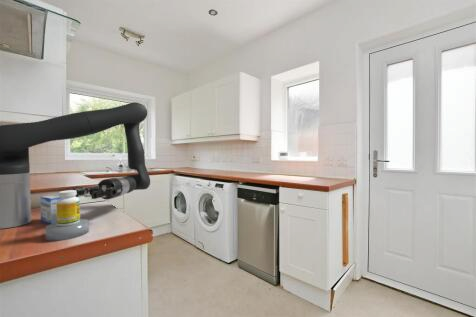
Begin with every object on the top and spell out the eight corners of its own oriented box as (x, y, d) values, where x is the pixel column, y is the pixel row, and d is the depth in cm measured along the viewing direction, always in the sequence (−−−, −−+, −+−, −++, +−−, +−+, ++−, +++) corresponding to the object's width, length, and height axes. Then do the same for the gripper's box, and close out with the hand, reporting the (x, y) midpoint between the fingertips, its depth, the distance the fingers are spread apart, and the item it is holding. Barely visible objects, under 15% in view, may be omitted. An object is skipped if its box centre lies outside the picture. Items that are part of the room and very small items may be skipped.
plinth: (35, 240, 60) (35, 229, 60) (67, 228, 70) (67, 218, 70) (69, 241, 59) (68, 230, 59) (96, 228, 69) (96, 219, 69)
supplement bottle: (57, 223, 65) (56, 191, 65) (79, 219, 68) (78, 189, 68) (57, 228, 61) (56, 193, 60) (80, 224, 64) (79, 191, 64)
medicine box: (40, 221, 78) (39, 196, 78) (55, 217, 82) (54, 194, 82) (51, 224, 74) (50, 198, 74) (66, 220, 78) (65, 196, 78)
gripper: (96, 177, 85) (58, 183, 69) (131, 177, 84) (100, 183, 68) (97, 197, 86) (59, 207, 69) (131, 197, 84) (101, 207, 68)
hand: (79, 195), depth 69 cm, fingers open, 8 cm apart
